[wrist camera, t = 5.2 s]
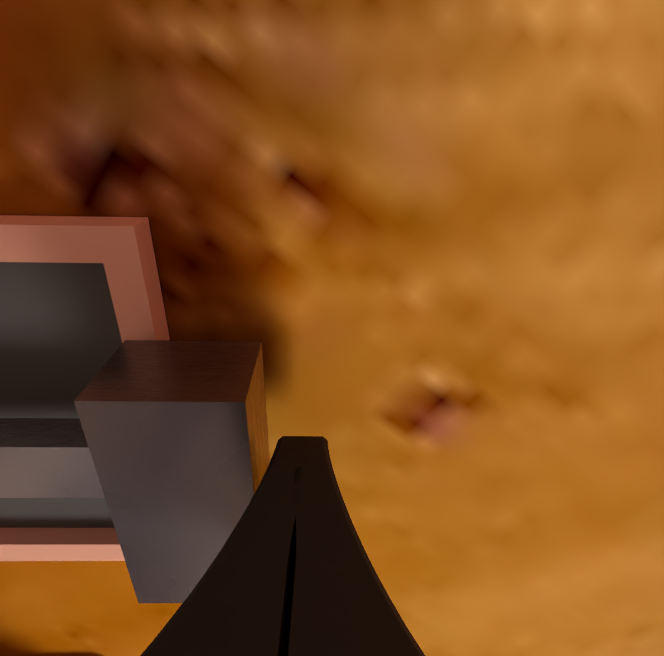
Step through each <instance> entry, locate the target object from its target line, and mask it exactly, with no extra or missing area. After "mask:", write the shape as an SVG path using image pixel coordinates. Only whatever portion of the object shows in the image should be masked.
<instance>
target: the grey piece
mask: <svg viewBox="0 0 664 656" xmlns="http://www.w3.org/2000/svg"><path fill="white" fill-rule="evenodd" d="M74 403H75V406H76V410H77V413H78V416H79V418H0V498H105V500H106V503H107V506H108V509H109V512H110V515H111V518H112V521H113V525H114V528H115V531H116V534H117V537H118V540H119V543H120V546H121V549H122V553H123V556H124V559H125V562H126V565H127V568H128V571H129V574H130V577H131V581H132V584H133V587H134V590H135V593H136V596H137V599H138V602H139V603H183V602H184V601H185V600H186V599H187V597H188V596H189V595H190V593H191V592H192V590H193V589H194V588H195V586H196V585H197V584H198V582H199V581H200V579H201V578H202V577H203V575H204V574H205V572H206V571H207V570H208V568H209V567H210V565H211V564H212V562H213V561H214V559H215V558H216V556H217V555H218V553H219V552H220V550H221V549H222V547H223V546H224V544H225V543H226V541H227V539H228V538H229V536H230V535H231V533H232V531H233V530H234V528H235V526H236V525H237V523H238V522H239V520H240V518H241V517H242V515H243V513H244V512H245V510H246V508H247V506H248V504H249V502H250V501H251V499H252V497H253V495H254V493H255V491H256V490H257V488H258V486H259V484H260V482H261V480H262V478H263V476H264V474H265V472H266V470H267V468H268V465H269V463H270V459H269V444H268V429H267V414H266V399H265V384H264V369H263V354H262V341H175V340H125V341H124V342H123V344H122V345H121V346H120V347H119V348H118V349H117V351H116V352H115V353H114V354H113V355H112V357H111V358H110V359H109V360H108V361H107V362H106V364H105V365H104V366H103V367H102V368H101V370H100V371H99V372H98V373H97V374H96V375H95V377H94V378H93V379H92V380H91V381H90V383H89V384H88V385H87V386H86V387H85V388H84V390H83V391H82V392H81V393H80V394H79V396H78V397H77V398H76V399H75V400H74Z"/></svg>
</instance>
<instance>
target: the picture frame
mask: <svg viewBox="0 0 664 656" xmlns="http://www.w3.org/2000/svg"><path fill="white" fill-rule="evenodd" d="M125 340H170V337H169V332H168V326H167V321H166V315H165V309H164V304H163V298H162V293H161V287H160V282H159V276H158V270H157V265H156V259H155V254H154V248H153V242H152V237H151V231H150V226H149V220H148V217H91V216H21V215H0V418H79V416H78V413H77V410H76V406H75V403H74V400H75V399H76V398H77V397H78V396H79V394H80V393H81V392H82V391H83V390H84V388H85V387H86V386H87V385H88V384H89V383H90V381H91V380H92V379H93V378H94V377H95V375H96V374H97V373H98V372H99V371H100V370H101V368H102V367H103V366H104V365H105V364H106V362H107V361H108V360H109V359H110V358H111V357H112V355H113V354H114V353H115V352H116V351H117V349H118V348H119V347H120V346H121V345H122V344H123V342H124V341H125ZM0 561H125V559H124V556H123V553H122V549H121V546H120V543H119V540H118V537H117V534H116V531H115V528H114V525H113V521H112V518H111V515H110V512H109V509H108V506H107V503H106V500H105V498H0Z"/></svg>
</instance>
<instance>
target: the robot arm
mask: <svg viewBox="0 0 664 656" xmlns="http://www.w3.org/2000/svg"><path fill="white" fill-rule="evenodd" d="M141 656H425V655H424V653H423V652H422V650H421V649H420V647H419V645H418V644H417V642H416V641H415V639H414V638H413V636H412V635H411V633H410V632H409V630H408V628H407V627H406V625H405V623H404V622H403V620H402V618H401V617H400V615H399V613H398V611H397V610H396V608H395V606H394V605H393V603H392V601H391V599H390V598H389V596H388V594H387V592H386V590H385V589H384V587H383V585H382V583H381V581H380V579H379V578H378V576H377V574H376V572H375V570H374V568H373V566H372V564H371V562H370V560H369V558H368V556H367V554H366V552H365V550H364V548H363V545H362V543H361V541H360V539H359V537H358V535H357V532H356V530H355V528H354V525H353V523H352V521H351V519H350V516H349V513H348V511H347V508H346V506H345V503H344V501H343V498H342V495H341V493H340V490H339V487H338V484H337V481H336V478H335V474H334V471H333V468H332V464H331V460H330V456H329V450H328V441H327V440H326V439H325V438H324V437H314V436H283V437H281V438H280V439H279V440H278V442H277V445H276V448H275V451H274V454H273V456H272V458H271V461H270V463H269V465H268V468H267V470H266V472H265V474H264V476H263V478H262V480H261V482H260V484H259V486H258V488H257V490H256V491H255V493H254V495H253V497H252V499H251V501H250V502H249V504H248V506H247V508H246V510H245V512H244V513H243V515H242V517H241V518H240V520H239V522H238V523H237V525H236V526H235V528H234V530H233V531H232V533H231V535H230V536H229V538H228V539H227V541H226V543H225V544H224V546H223V547H222V549H221V550H220V552H219V553H218V555H217V556H216V558H215V559H214V561H213V562H212V564H211V565H210V567H209V568H208V570H207V571H206V572H205V574H204V575H203V577H202V578H201V579H200V581H199V582H198V584H197V585H196V586H195V588H194V589H193V590H192V592H191V593H190V595H189V596H188V597H187V599H186V600H185V601H184V602H183V604H182V605H181V606H180V607H179V609H178V610H177V611H176V613H175V614H174V615H173V616H172V618H171V619H170V620H169V622H168V623H167V624H166V625H165V627H164V628H163V629H162V630H161V632H160V633H159V634H158V635H157V636H156V638H155V639H154V640H153V641H152V643H151V644H150V645H149V646H148V647H147V649H146V650H145V651H144V652H143V653H142V654H141Z"/></svg>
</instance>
